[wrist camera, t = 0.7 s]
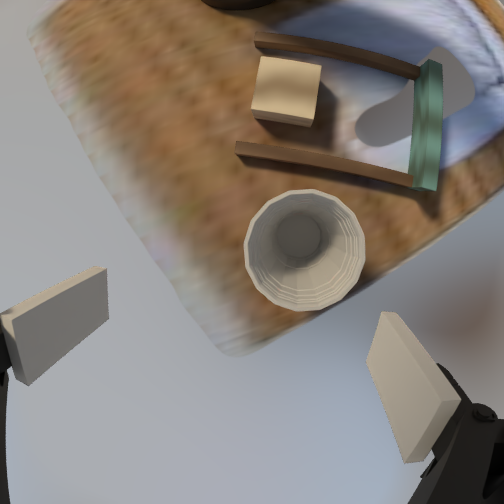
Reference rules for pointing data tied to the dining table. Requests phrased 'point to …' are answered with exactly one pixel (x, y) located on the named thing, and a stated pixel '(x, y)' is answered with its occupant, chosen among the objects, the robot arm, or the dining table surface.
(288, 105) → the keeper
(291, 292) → the plastic cup
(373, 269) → the dining table surface
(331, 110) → the dining table surface
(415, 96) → the guide track
